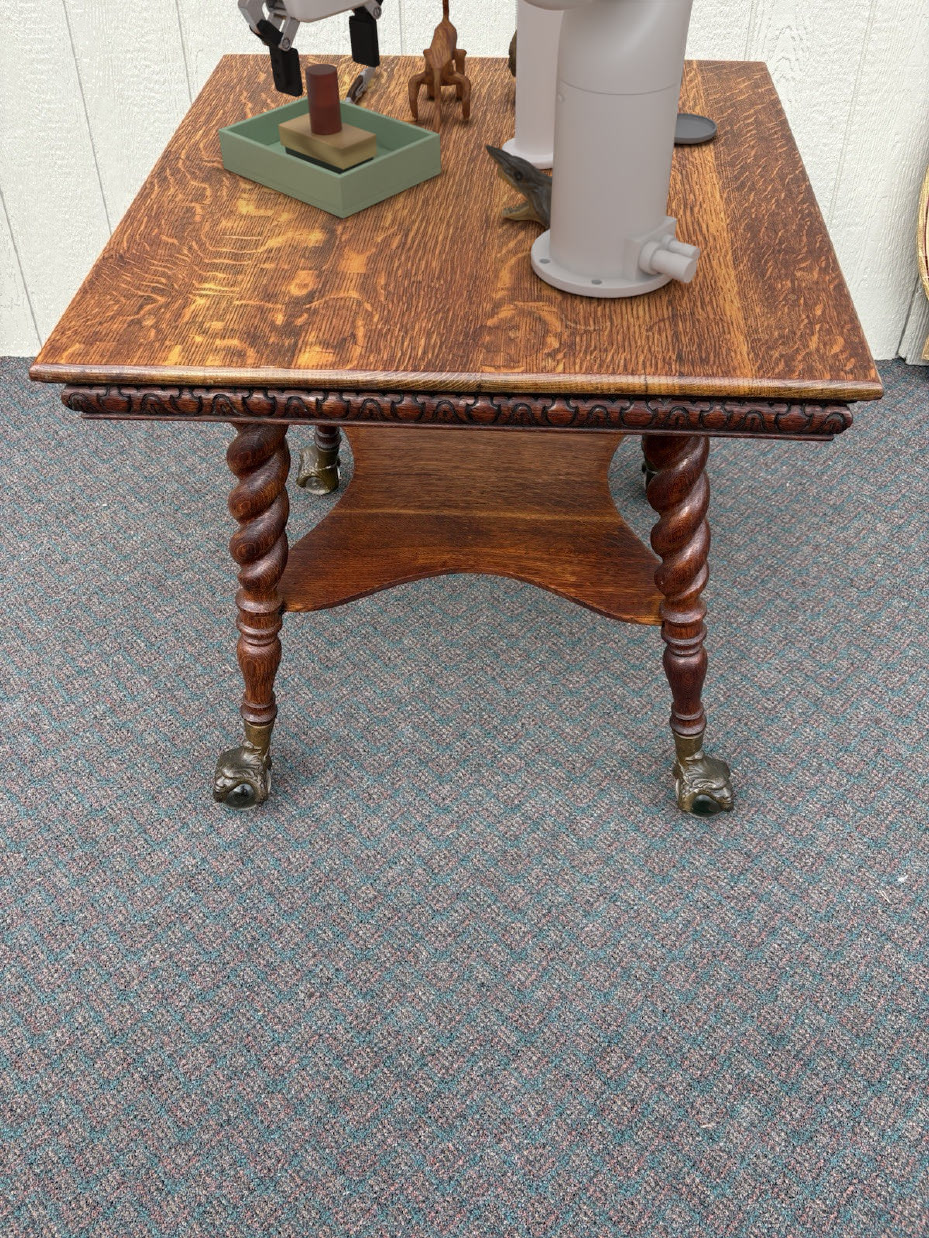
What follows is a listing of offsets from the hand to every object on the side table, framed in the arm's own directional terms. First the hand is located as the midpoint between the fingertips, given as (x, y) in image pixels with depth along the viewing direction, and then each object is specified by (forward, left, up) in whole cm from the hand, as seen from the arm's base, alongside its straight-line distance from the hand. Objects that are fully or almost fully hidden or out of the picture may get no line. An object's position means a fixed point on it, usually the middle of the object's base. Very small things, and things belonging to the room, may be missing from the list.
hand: (329, 78), depth 106 cm
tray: (+1, 0, -9) cm, 9 cm away
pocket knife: (+14, -17, -9) cm, 24 cm away
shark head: (-21, -4, -9) cm, 23 cm away
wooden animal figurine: (+2, -17, -9) cm, 19 cm away
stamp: (+1, 0, -8) cm, 8 cm away
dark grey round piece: (-19, -30, -9) cm, 37 cm away
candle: (-12, -16, -9) cm, 22 cm away
